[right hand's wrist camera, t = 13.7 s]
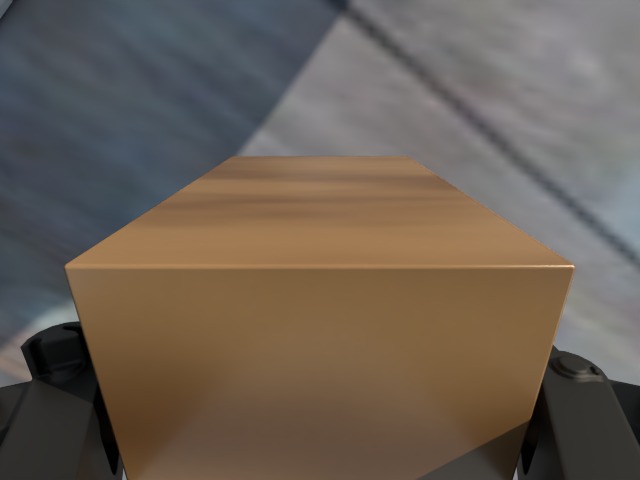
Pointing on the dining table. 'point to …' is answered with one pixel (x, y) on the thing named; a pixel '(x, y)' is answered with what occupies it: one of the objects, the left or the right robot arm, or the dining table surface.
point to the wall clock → (4, 6)
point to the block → (319, 326)
